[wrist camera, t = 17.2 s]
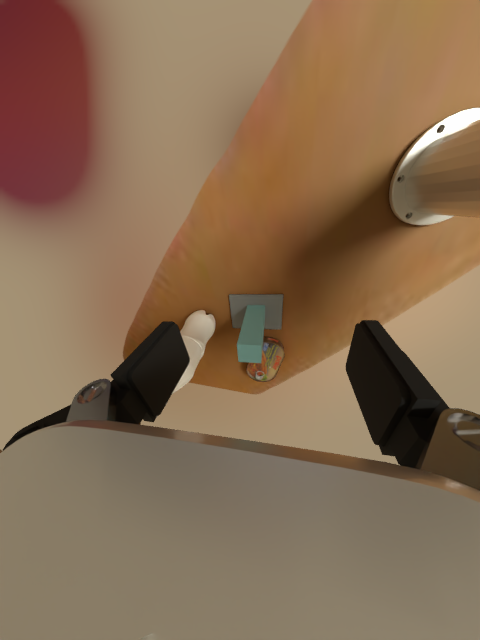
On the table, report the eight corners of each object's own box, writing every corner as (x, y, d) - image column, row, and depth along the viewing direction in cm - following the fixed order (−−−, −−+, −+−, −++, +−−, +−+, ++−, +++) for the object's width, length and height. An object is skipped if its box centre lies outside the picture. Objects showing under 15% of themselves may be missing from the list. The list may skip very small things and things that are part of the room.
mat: (283, 294, 39) (283, 295, 39) (281, 328, 44) (281, 329, 44) (229, 294, 42) (228, 295, 41) (233, 326, 46) (232, 327, 46)
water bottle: (202, 301, 44) (137, 389, 23) (223, 321, 46) (181, 418, 25) (185, 317, 47) (115, 406, 26) (206, 334, 49) (156, 430, 29)
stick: (264, 320, 43) (261, 363, 31) (248, 319, 44) (238, 361, 32) (265, 305, 41) (261, 345, 29) (247, 305, 42) (236, 344, 30)
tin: (255, 338, 44) (289, 348, 43) (257, 331, 46) (289, 340, 46) (243, 377, 52) (271, 386, 52) (245, 369, 55) (272, 378, 54)
